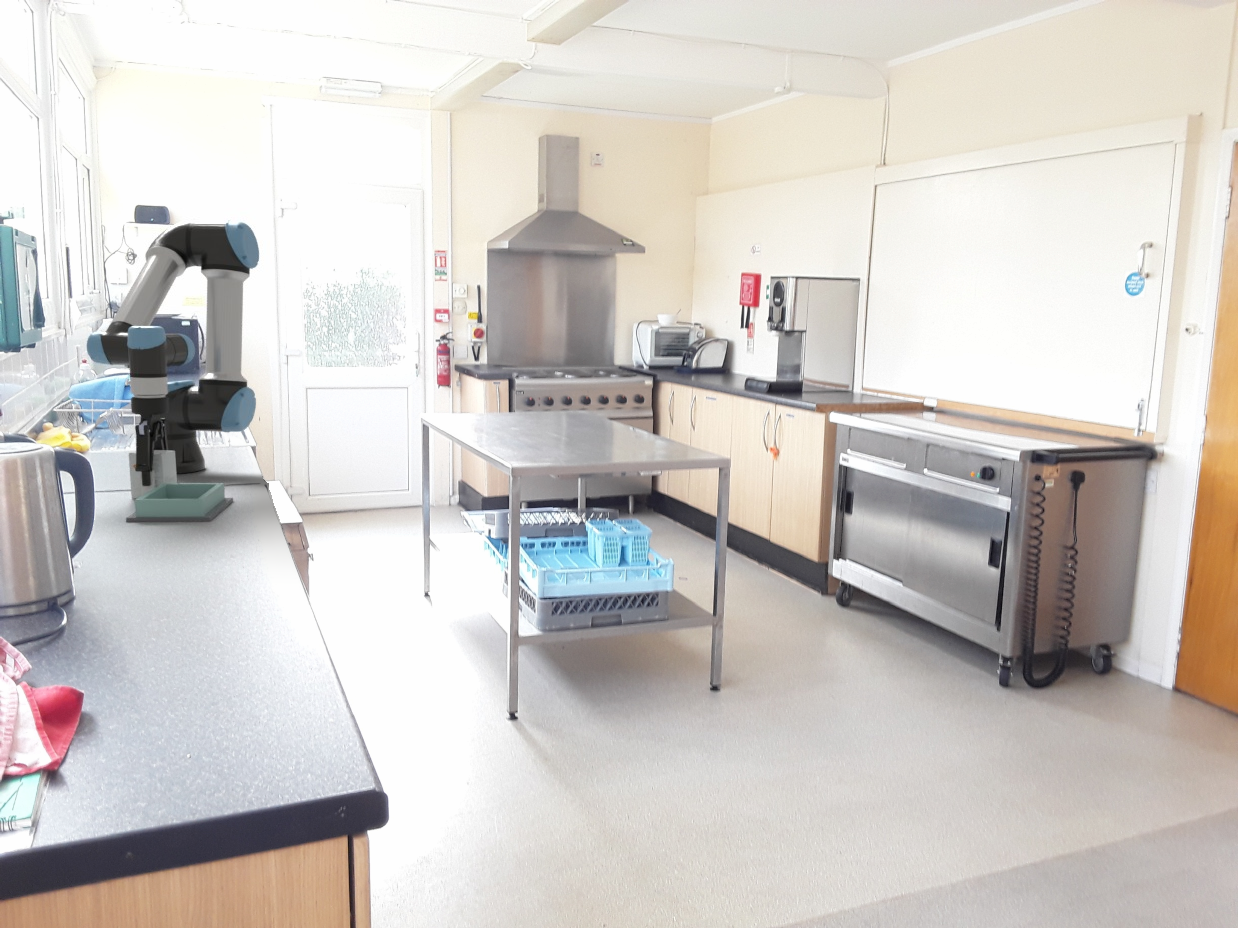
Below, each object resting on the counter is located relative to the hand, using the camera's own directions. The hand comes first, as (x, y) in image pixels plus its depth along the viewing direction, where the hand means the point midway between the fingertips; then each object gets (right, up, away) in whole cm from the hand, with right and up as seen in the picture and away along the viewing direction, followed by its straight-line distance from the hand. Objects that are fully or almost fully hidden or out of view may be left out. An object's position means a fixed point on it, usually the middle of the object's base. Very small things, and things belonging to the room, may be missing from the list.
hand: (154, 495), depth 214 cm
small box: (0, 0, 0) cm, 1 cm away
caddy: (+12, -3, -13) cm, 18 cm away
